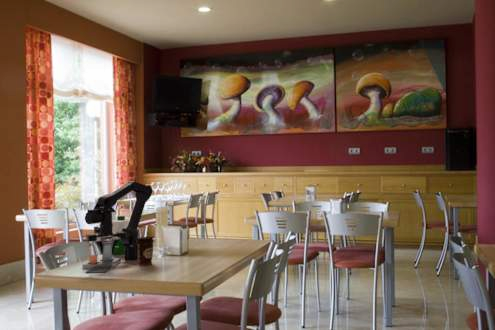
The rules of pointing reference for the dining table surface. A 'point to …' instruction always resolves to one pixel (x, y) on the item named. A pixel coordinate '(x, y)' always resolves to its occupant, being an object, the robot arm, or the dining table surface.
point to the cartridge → (107, 251)
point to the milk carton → (118, 227)
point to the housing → (102, 263)
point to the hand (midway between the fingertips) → (107, 254)
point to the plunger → (92, 259)
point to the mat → (98, 270)
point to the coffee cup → (145, 250)
